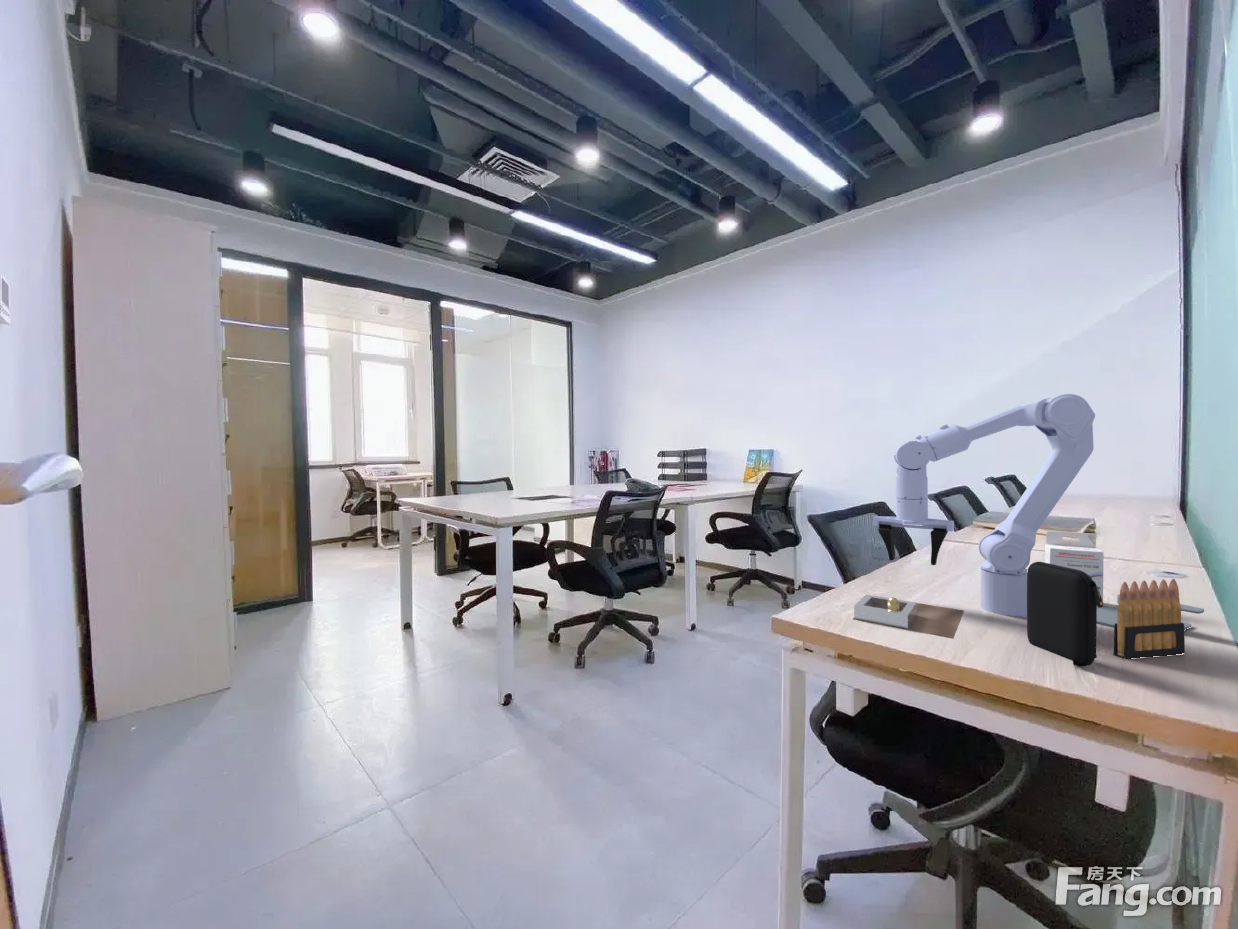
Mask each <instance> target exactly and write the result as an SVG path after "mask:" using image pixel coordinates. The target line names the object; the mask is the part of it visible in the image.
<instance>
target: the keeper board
mask: <svg viewBox="0 0 1238 929" xmlns="http://www.w3.org/2000/svg"><path fill="white" fill-rule="evenodd" d="M916 603H917V616H916V617H915V619H914V620H913V622H912V623H911V625H910V626H909V628H908V629H906V628H901V627H896V626H891V625H885V624H880V623H875V622H870V621H864V620H859V619H854V617H853V618H852V620H854V621H859V622H860V621H861V622H864V623H870V624H874V625H879V626H885V627H890V628H896V629H900V630H905V631H910V632H911V631H912V632H916V633H922V634H926V635H933V636H938V637H943V638H947V639H948V638H949V639H954V638H955V635H956V632H957V629H958V626H959V624H960V621H961V619H962V616H963V614H964V612H965V610H963V609H956V608H951V607H944V606H939V605H933V604H928V603H927V604H926V603H920V602H916Z"/></svg>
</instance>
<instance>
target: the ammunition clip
mask: <svg viewBox="0 0 1238 929" xmlns="http://www.w3.org/2000/svg"><path fill="white" fill-rule="evenodd" d="M1121 584H1122V585H1121V586H1120V590H1119V594H1120V598H1119V604H1117V608H1118V610H1117V623H1115V624H1114V628H1113V629H1114V630H1113V631H1114V632H1113V655H1114V656H1116V657H1118V658H1121V657H1122V659H1124V658H1125V659H1124V660H1127V659H1131V658H1140V657H1153V656H1167V655H1176V654H1182V653H1185V654H1186V645H1185V642H1186V641H1185V631H1184V623H1181V622H1182V611H1181V605H1180V604H1181V602H1180V590H1179V585H1178V583H1177V581H1176V579H1175V578H1172V579H1171V580H1170V582H1169V585H1168V583H1167V581H1166V580H1165V579H1162V580H1161V581H1160V583H1159V585H1158V584H1157V581H1156V580H1155V579H1152V580H1151V582H1150V584H1149V585H1148V583H1147V581H1146V580H1143V581H1142V582H1141V583H1140V586H1139V584H1138V583H1137V582H1136V581H1135V580H1134V581H1133V582H1132V583H1131V584H1130V587H1129V585H1128V583H1127V582H1126V581H1123V583H1121ZM1131 660H1132V659H1131Z"/></svg>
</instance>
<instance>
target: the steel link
mask: <svg viewBox="0 0 1238 929" xmlns="http://www.w3.org/2000/svg"><path fill="white" fill-rule="evenodd" d="M889 598H890V597H884V596H878V595H871V594H865V595H864V596H863V597H862V598H861V599H860V600H858V602H857V603H855V605H854V606H853V607H854V610H853V613H854V614H853V615H854V617H853V618H854V619H859V620H864V621H870V622H875V623H880V624H885V625H891V626H896V627H901V628H906V629H908V628H909V626H910V625H911V623H912V622H913V620H914V619H915V617H916V616H917V603H918V602H916V601H909V600H903V599H898V598H896V599H897V600H898V601H899V611H893V610H888V609H887V601H888V599H889ZM859 620H858V621H859ZM864 621H863V622H864ZM885 625H884V626H885Z"/></svg>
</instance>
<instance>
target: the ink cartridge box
mask: <svg viewBox="0 0 1238 929" xmlns="http://www.w3.org/2000/svg"><path fill="white" fill-rule="evenodd" d="M1045 537H1046V538H1045V541H1046V543H1045V544H1044V562H1045V563H1049V564H1054V565H1058V566H1063V567H1067V568H1072V569H1077V570H1081V571H1083V572H1085V573H1086V574H1088V575H1089V576H1090V577H1091V578H1092V580H1093V581H1094V582H1095V583H1096V586H1097V587H1098V588H1099V591H1100V595H1101V598H1102V600H1103V601H1104V559H1105V558H1104V551H1103V550H1101V549H1099V548H1098V547H1097V546H1096V545H1097V535H1096V534H1095V533H1093V532H1091V533H1089V532H1074V531H1057V530H1056V531H1055V530H1054V531H1053V530H1047V531H1046V536H1045ZM1069 537H1073V538H1074V540H1072V539H1063V538H1069ZM1075 538H1078V540H1075ZM1097 607H1098V606H1097Z"/></svg>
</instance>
